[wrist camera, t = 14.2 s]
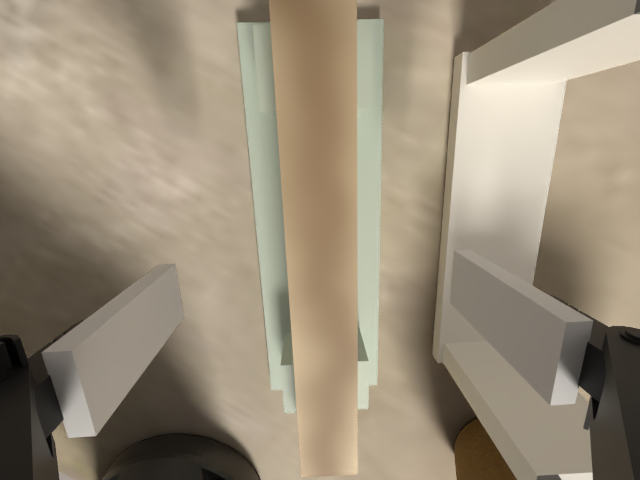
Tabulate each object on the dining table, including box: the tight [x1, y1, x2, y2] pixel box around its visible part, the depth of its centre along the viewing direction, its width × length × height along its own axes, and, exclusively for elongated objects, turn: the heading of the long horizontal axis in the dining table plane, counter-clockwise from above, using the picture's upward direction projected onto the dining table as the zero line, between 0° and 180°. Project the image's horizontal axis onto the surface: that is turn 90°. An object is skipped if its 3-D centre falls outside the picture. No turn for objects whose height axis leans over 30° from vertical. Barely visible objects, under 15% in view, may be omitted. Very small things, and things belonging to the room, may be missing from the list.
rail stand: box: [432, 0, 640, 480], centre depth 17 cm, size 7×23×15 cm, turn 2°
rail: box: [269, 0, 358, 478], centre depth 17 cm, size 4×27×4 cm, turn 2°
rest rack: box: [237, 19, 384, 413], centre depth 21 cm, size 9×27×5 cm, turn 2°
